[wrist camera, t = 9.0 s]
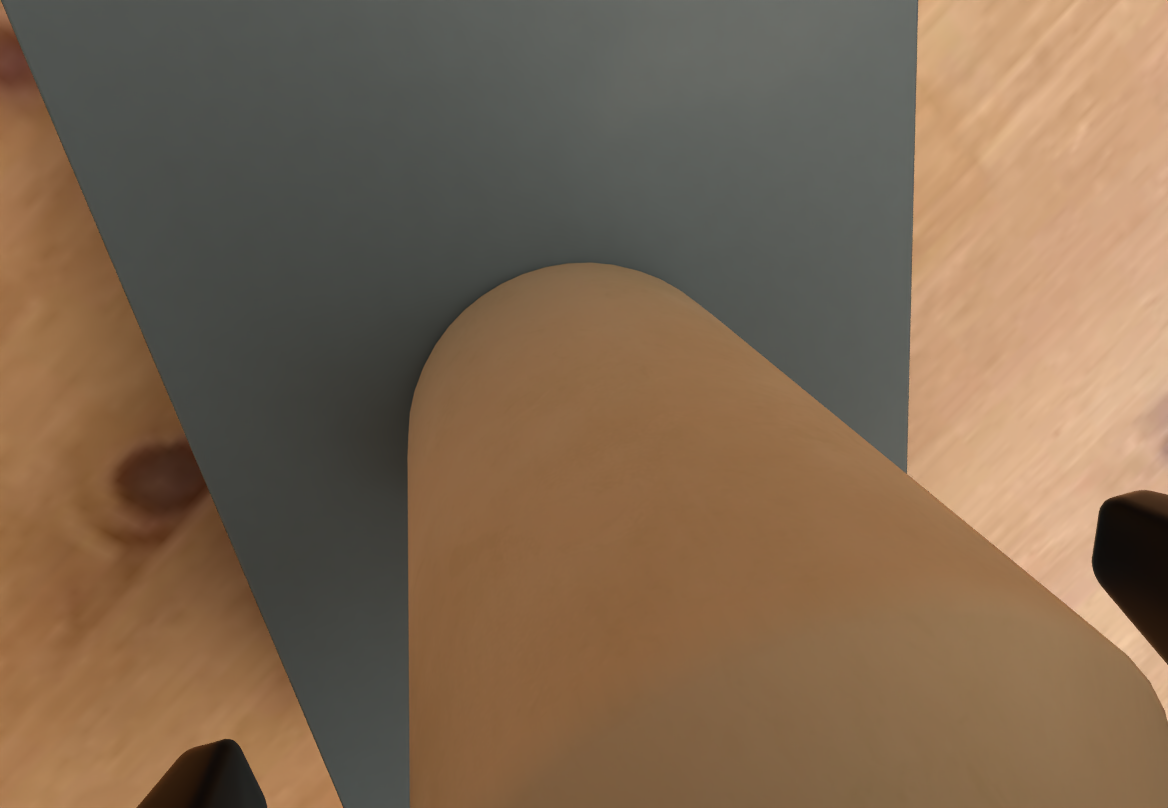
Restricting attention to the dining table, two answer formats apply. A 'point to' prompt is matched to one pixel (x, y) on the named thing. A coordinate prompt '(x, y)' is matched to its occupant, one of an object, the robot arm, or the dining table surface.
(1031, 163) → the dining table surface
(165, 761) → the dining table surface
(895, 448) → the shelf
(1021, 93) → the dining table surface
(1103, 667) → the candle
